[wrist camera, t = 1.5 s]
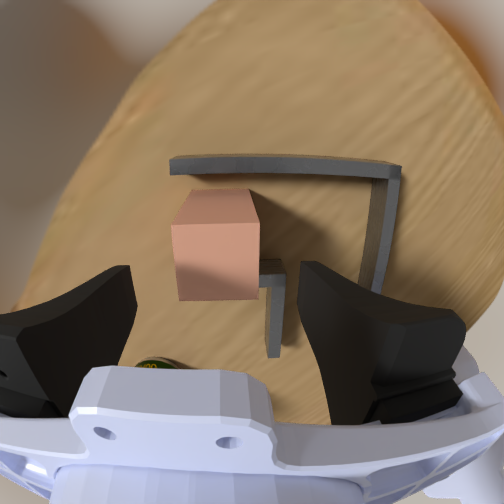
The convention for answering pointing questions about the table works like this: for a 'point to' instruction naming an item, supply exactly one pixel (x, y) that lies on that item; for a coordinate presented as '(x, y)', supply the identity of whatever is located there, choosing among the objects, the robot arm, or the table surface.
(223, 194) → the terracotta block
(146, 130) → the table surface
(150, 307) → the table surface
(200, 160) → the channel rails
